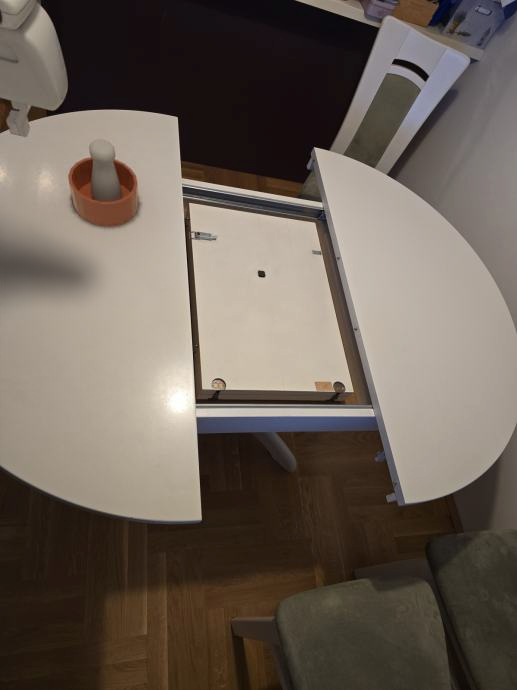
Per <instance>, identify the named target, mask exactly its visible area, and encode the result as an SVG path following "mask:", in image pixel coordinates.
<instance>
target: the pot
mask: <svg viewBox="0 0 517 690" xmlns="http://www.w3.org/2000/svg"><path fill="white" fill-rule="evenodd" d="M113 162H114V166H115V169H116V173H117V176H118V179H119V183H120V186H121V190H122V197H121V199H120V200H116V201H110V202H102V201H97V200H95V199H94V198H93V197H92V195H91V180H92V169H93V159H92V157H91V156H90V157H86V158H83V159H81V160H79V161H77V162H75V164H73V166H71V168H70V170H69V173H68V176H67V178H68V185H69V189H70V193H71V199H72V202H73V203H72V204H73V207H74V209H75V211H76V212H77V214H78V215H79V216H80V217H81V218H82V219H84V220H86V221H87V222H89V223H91V224H92V225H93V224H94V225H97V226H102V227H116V226H120V225H123V224H126V223H127V222H129V221H130V220H132V219H133V218H134V217H135V215H136V213H137V211H138V205H139V191H138V190H139V189H138V187H139V186H138V185H139V183H138V179H137V175H136V174H135V172H134V171H133V169H132V168H131V167H129V166H128V165H127V164H126V163H124V162H122V161H120V160H118V159H116V158H115V159H114V161H113Z"/></svg>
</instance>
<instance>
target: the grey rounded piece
mask: <svg viewBox="0 0 517 690" xmlns="http://www.w3.org/2000/svg"><path fill="white" fill-rule="evenodd" d="M88 145H89V146H88V151H89V156H90V157H92V159H93V169H92V180H91V195H92V197H93V198H94V199H95V200H97V201H102V202H110V201H116V200H120V199H121V197H122V190H121V186H120V183H119V179H118V176H117V173H116V169H115V166H114V162H113V161H114V159H116V149H115V146H114V145H113V144H112V143H111V142H110V141H108V140H107V139H103V138H100V139H99V138H98V139H95V140H93V141H92V142H90V144H88Z"/></svg>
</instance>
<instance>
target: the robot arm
mask: <svg viewBox="0 0 517 690" xmlns="http://www.w3.org/2000/svg"><path fill="white" fill-rule="evenodd" d="M67 74H68V73H67V67H66V63H65V59H64V55H63V51H62V47H61V44H60V41H59V37H58V34H57V31H56V28H55V26H54V23H53V21H52V19H51V17H50V15H49V14H48V13H47V11H46V10H45V8H44V7H42V5H40V3H39V2H37V0H0V99H4V100H7V101H10V102H11V107H12V108H13V109H10V112H9V113H8V116H7V118H6V120H5V122H6V125H7V127H8V128H9V130H8V131H9V133H10V134H11V135H15V136H18V137H22V138H27V137H28V136H29V133H30V130H31V126H30V121H29V118H28V114H29V111H30V109H31V107H35V108H40V109H44V110H48V111H56V110H57V109H59V107H60V106H61V105H62V104H63V102H64V100H65V99H66V96H67V93H68V88H69V79H68V75H67ZM14 109H15V110H14Z"/></svg>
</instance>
